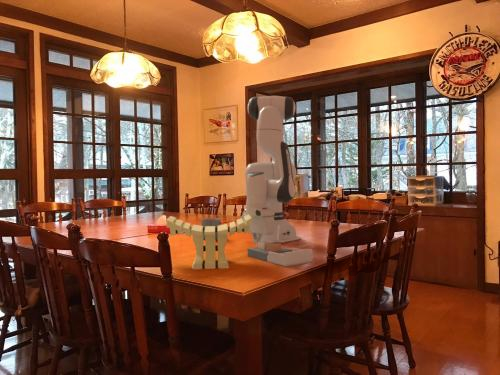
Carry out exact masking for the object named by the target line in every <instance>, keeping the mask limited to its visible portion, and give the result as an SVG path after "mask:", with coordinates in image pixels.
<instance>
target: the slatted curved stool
mask: <svg viewBox="0 0 500 375" xmlns="http://www.w3.org/2000/svg"><path fill="white" fill-rule="evenodd" d="M184 222H185V221H183V220H182V219H179V218H178V219H177V217H176V216H172V215H170V216H168V218H166V228H167V229H168V228H169V230H170V231H169V232H170V237H172V236H174V235H175V236H176V235H184V236H187V237H190V238H191V237H192V241H193V243H194V246H195V251H196V255H195V258H194V260H193V263H192V267H191V270H203V269H204V270H208V269H209V270H210V269H211V270H213V269H229V268H230V267H229V260H228V258H227V256H226V253H225V249H226V248H225V247H226V246H227V242H228V236H229V237H231V236H233V235H235V234H236V233H237V234H242V233H244V234H247V235H250V232H249V227H250V226H252V218H251V217H250V215H249V214H248V215H246V216H244V222H243V220H242V217H241V218H239V219H236V223H235V221H230V222H229V223H226V224H225V223H224V224H221V225H219V226H218V227H215V226H205V227H203V226H201V225H198V224H197V225H196V224H192V223H190V222H185V223H184ZM228 224H229V226H228ZM215 232H218V240H217V245H216V240H215ZM203 233H204V235H205V240H203ZM204 242H205V244H204ZM216 252H217V258H216ZM204 253H205V258H204ZM216 259H217V261H216Z"/></svg>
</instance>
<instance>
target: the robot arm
mask: <svg viewBox="0 0 500 375" xmlns="http://www.w3.org/2000/svg"><path fill="white" fill-rule="evenodd" d="M247 103H248V104H247V114H248V116H249V118H251V119H253V120H254V121H257V124H256V125H257V126H256V143H257V145H258V147H259V148H260V151H261V152H262V153H264V154H265V155H267V156H269V157H270V158H271V161H267V162H266V161H264V162H263V161H261V162H259V161H257V162H252V163H248V165H247V166H246V168H245V171H244V176H245V179H246V180H245V195H246V200H245V201H246V202H245V209H244V210H243V212H242V214H241V218H242V220H243V222H244V216H246V215H248V214H249V215H250V217H251V218H252V226H250V227H249V233H250V234H251V236H252V240H253V244H256V245H258V242H261V241H270V242H273V243H279V244H282V243H283V244H284V243H288V242H293V241H297V240H298V241H299V240H301V239H302V237H301V236H299V235H297V229H296V227H295V225H293V224H292V223H290V221H288V220H287V219H286V218H287V217H289V216H290V213H289V212H284V211H283V204H289V203H290V202H292V201H293V200H294V198H295V196H296V194H297V192H296V185H295V182H294V181H295V180H296V178H297V169H296V167H295V166H296V165H294V164H293V162H292V158H291V154H290V148H289V145H288V143H287V142H286V141H284V123H283V120H284V122H285V123H286V122H287V121H288V120H289V121H290V119H292V118H294V115H295V112H296V102H295V101H294V99H293V98H292V97H290V96H280V95H266V96H253V97H251V98H250V99H249V100H248V102H247Z"/></svg>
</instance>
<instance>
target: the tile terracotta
mask: <svg viewBox="0 0 500 375" xmlns="http://www.w3.org/2000/svg"><path fill="white" fill-rule="evenodd" d="M282 247H283V245H282V243H279V242H273V243H267V244H266V250H268V251H272V252H274V251H280V250H282Z"/></svg>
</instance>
